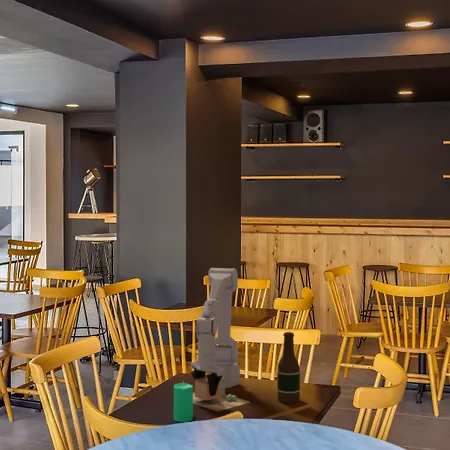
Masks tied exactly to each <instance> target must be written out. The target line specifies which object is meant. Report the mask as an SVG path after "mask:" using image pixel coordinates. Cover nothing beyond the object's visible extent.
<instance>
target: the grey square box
mask: <svg viewBox="0 0 450 450" xmlns="http://www.w3.org/2000/svg"><path fill="white" fill-rule="evenodd" d="M223 395H226V388H225V378H223V377H222V378H221V380H220V382H219V396H223Z"/></svg>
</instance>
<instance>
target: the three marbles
mask: <svg viewBox="0 0 450 450" xmlns="http://www.w3.org/2000/svg"><path fill="white" fill-rule="evenodd" d="M227 395H228V396H227V397H226V400H227V401H230V400H231V399H232V400H233V401H235V400H236V399H237V398H238V397H237V395H235V394H233V395H232V393H230V394H229V393H228V394H227Z"/></svg>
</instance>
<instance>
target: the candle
mask: <svg viewBox="0 0 450 450" xmlns="http://www.w3.org/2000/svg"><path fill="white" fill-rule="evenodd" d="M193 392H194V386H193V384H189V383H186V382H184V380H183V381H182V382H180V383H175V384H173V420H174V421H175V422H180V423H184V422H185V423H186V422H190V421H192V420H193V419H194V403H193Z"/></svg>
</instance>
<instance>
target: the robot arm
mask: <svg viewBox="0 0 450 450" xmlns="http://www.w3.org/2000/svg"><path fill="white" fill-rule="evenodd" d="M238 275H239V274H238V271H237V268H234V267H233V268H225V267H223V268H222V267H221V268H218V267H211V268H210V269H209V270H208V274H207V280H208V283H209V286H210V291H209V297H208V299H207V300H205V301H204V304H203V308H202V310H201V315H200V317H199V318H197V319H196V321H195V333H196V340H197V348H198V349H197V362H196V361H194V362H190V364H189V365H190V369H191V370H192V371H190V374H191V376H192V378H193V380H194V381H195V379H198V378H203V377H207V379H208V383H209V392H210V396H214V395H216V392H217V388H218V385H219V382H220V380H221V378H222V377H223V378H225V389H227V388H229V389H230V388H232V387H234V386H237V385H240V384H241V382H240V381H241V377H240V376H241V372H240V371H241V369H240V366H239V364H238V363H237V361H238V359H239V349H238V346H239V345H238V342H237V341H236V340H235V339H234V338H233V337H231V327H232V302H233V301H232V300H233V299H232V298H233V292H235V291H237V290H238V280H239V276H238ZM216 334H217V336H216ZM207 373H208V374H207Z"/></svg>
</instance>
